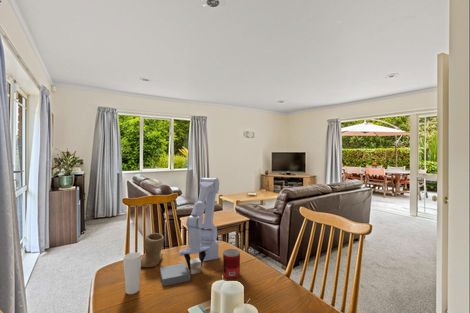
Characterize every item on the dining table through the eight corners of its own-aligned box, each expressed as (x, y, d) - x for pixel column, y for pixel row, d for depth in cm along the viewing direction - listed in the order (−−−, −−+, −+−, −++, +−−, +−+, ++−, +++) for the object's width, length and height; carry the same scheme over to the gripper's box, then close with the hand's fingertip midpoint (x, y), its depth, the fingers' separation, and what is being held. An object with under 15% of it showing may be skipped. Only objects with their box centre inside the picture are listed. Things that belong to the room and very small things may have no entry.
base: (184, 268, 119) (184, 262, 119) (190, 280, 108) (190, 273, 108) (159, 273, 114) (159, 267, 114) (162, 286, 103) (162, 279, 103)
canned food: (243, 274, 113) (243, 251, 113) (231, 281, 107) (231, 256, 107) (231, 269, 118) (231, 247, 118) (219, 275, 112) (219, 252, 112)
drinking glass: (130, 298, 95) (130, 260, 94) (120, 292, 98) (119, 256, 98) (144, 289, 100) (144, 254, 100) (134, 285, 104) (134, 250, 104)
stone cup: (160, 269, 119) (160, 239, 119) (136, 269, 118) (136, 239, 118) (168, 256, 134) (168, 229, 134) (147, 256, 134) (146, 229, 134)
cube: (198, 267, 120) (198, 257, 120) (201, 272, 115) (201, 261, 115) (188, 269, 118) (188, 259, 118) (190, 274, 113) (190, 263, 113)
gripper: (181, 245, 110) (181, 274, 110) (211, 240, 116) (211, 268, 116) (178, 240, 117) (178, 268, 117) (207, 236, 122) (207, 262, 122)
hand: (194, 267), depth 117 cm, fingers closed on cube, 5 cm apart
